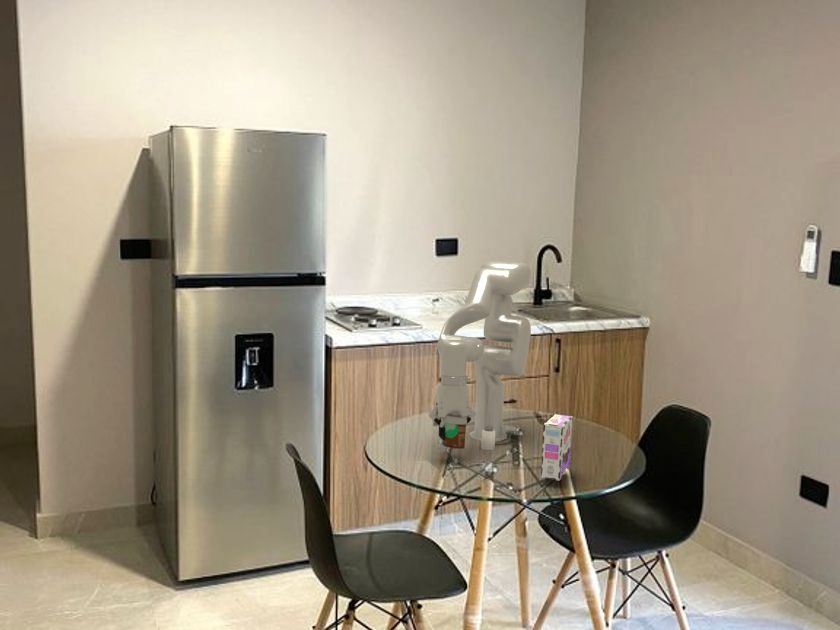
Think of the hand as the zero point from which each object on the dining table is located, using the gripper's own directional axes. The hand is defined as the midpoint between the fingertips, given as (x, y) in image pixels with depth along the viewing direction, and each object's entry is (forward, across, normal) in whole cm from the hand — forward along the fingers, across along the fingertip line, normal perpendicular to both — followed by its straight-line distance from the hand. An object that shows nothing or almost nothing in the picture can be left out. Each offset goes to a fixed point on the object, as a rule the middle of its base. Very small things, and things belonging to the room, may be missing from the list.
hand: (451, 438), depth 262 cm
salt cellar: (+7, -16, -12) cm, 21 cm away
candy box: (+8, -28, +16) cm, 33 cm away
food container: (+2, +1, 0) cm, 3 cm away
